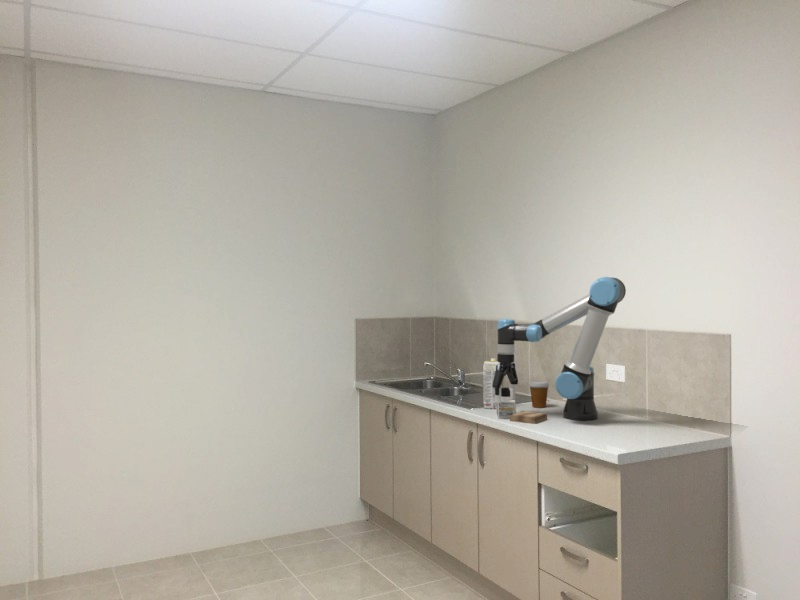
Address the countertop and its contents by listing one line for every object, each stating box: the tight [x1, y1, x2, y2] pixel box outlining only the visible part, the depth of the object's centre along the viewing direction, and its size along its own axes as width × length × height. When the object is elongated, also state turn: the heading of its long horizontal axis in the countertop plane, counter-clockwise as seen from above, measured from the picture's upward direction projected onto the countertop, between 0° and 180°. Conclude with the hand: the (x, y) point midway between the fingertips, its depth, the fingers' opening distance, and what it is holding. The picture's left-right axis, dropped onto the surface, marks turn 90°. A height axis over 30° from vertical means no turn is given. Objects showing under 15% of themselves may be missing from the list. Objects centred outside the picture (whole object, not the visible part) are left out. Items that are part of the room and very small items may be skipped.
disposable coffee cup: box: [529, 380, 550, 409], centre depth 340 cm, size 10×10×12 cm
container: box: [496, 387, 517, 419], centre depth 315 cm, size 8×8×13 cm
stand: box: [509, 410, 548, 425], centre depth 306 cm, size 12×12×3 cm
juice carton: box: [482, 357, 504, 410], centre depth 338 cm, size 9×8×24 cm
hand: (505, 400), depth 315 cm, fingers open, 13 cm apart
